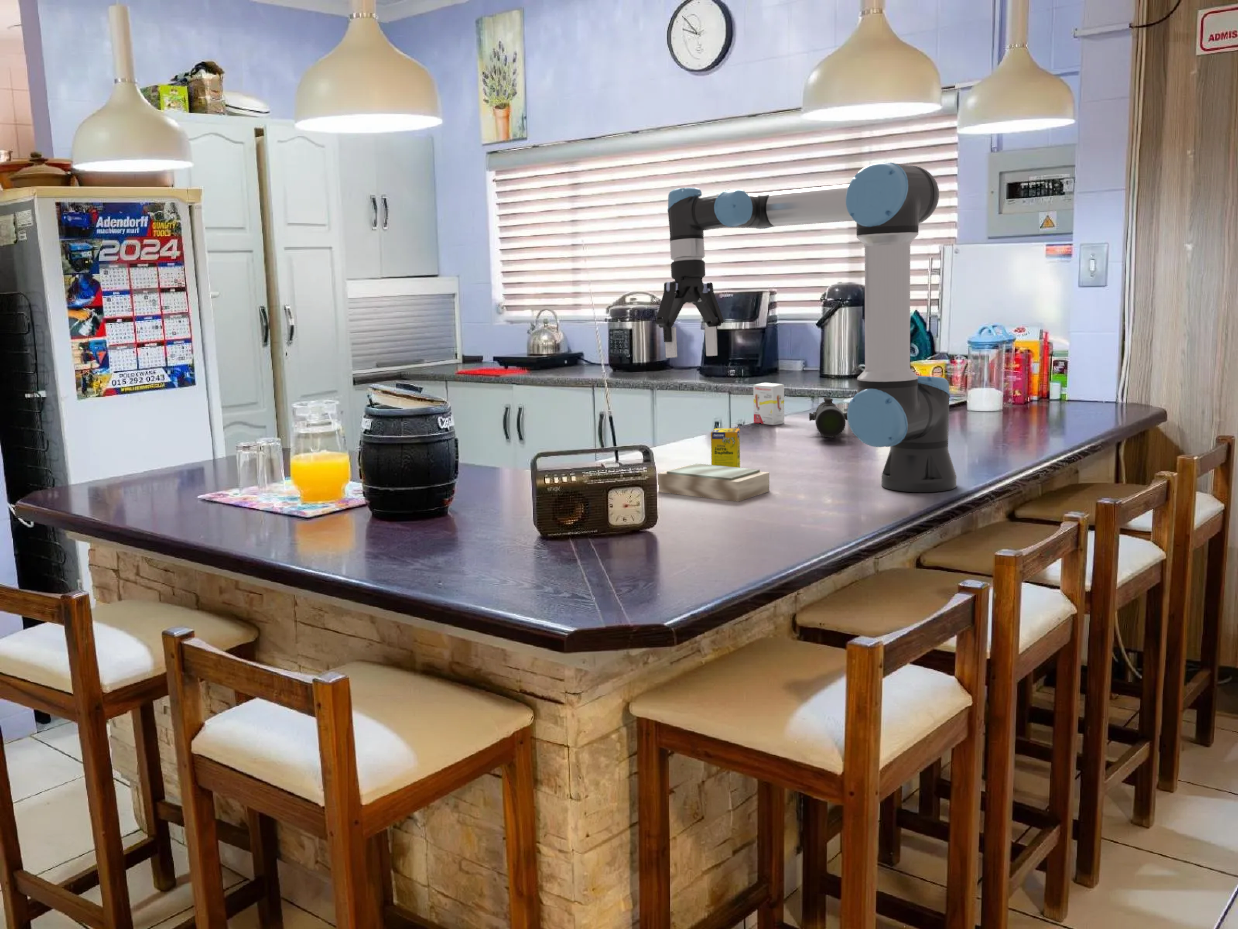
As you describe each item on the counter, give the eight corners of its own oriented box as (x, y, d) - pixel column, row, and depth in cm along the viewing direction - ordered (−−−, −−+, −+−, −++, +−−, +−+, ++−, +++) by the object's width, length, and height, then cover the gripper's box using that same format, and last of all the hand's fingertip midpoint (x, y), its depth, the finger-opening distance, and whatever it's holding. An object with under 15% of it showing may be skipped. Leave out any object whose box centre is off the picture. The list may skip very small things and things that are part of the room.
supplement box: (738, 481, 245) (737, 431, 244) (711, 480, 247) (710, 431, 245) (740, 476, 251) (740, 427, 249) (714, 476, 252) (713, 428, 251)
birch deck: (769, 491, 233) (769, 470, 232) (738, 501, 224) (737, 479, 223) (690, 482, 245) (690, 462, 245) (658, 491, 236) (657, 471, 235)
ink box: (752, 423, 336) (752, 383, 334) (764, 421, 339) (763, 382, 337) (773, 425, 330) (773, 385, 328) (785, 423, 333) (784, 384, 331)
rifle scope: (845, 427, 320) (845, 393, 318) (851, 441, 294) (851, 404, 293) (808, 428, 321) (807, 393, 320) (810, 442, 296) (810, 404, 294)
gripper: (711, 263, 258) (715, 355, 260) (636, 260, 241) (641, 358, 243) (736, 260, 253) (740, 354, 255) (661, 256, 236) (666, 357, 237)
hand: (692, 356), depth 249 cm, fingers open, 13 cm apart
